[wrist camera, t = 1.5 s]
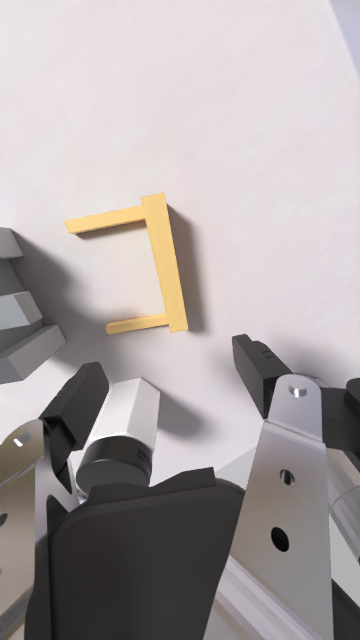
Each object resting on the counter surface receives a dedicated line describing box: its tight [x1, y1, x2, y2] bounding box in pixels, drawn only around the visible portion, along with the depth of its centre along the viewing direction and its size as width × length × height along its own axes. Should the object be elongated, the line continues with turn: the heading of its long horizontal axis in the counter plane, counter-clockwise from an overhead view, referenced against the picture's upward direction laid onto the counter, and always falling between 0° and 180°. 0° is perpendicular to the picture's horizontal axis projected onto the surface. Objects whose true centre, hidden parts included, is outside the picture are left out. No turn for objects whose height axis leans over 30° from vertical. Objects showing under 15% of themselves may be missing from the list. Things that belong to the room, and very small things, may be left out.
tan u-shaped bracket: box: [64, 193, 188, 335], centre depth 20 cm, size 11×14×4 cm
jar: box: [76, 378, 160, 495], centre depth 25 cm, size 9×8×12 cm
